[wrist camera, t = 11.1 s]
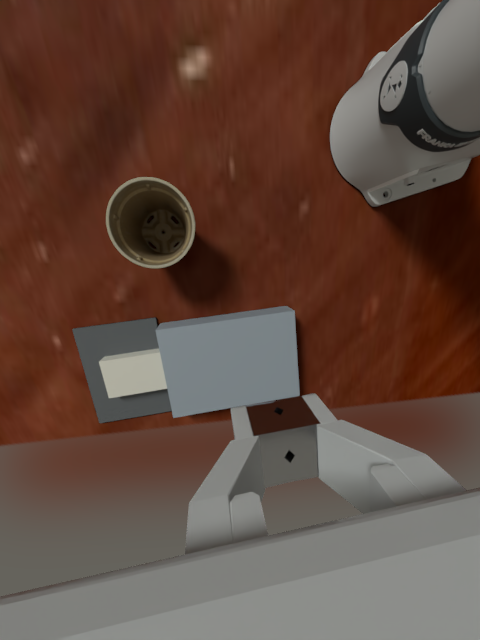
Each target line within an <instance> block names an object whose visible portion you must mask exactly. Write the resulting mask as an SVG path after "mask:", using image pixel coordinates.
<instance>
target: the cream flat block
mask: <svg viewBox="0 0 480 640" xmlns="http://www.w3.org/2000/svg"><path fill="white" fill-rule="evenodd" d="M99 365H100V368H101V372H102V375H103V379H104V383H105V386H106V390H107V393H108V397H109V398H114V397H120V396H126V395H132V394H138V393H144V392H150V391H156V390H162V389H167V385H166V380H165V375H164V370H163V365H162V360H161V355H160V350H159V348H158V349H151V350H145V351H138V352H132V353H125V354H119V355H112V356H105V357H103V358H102V359H101V360H100V361H99Z"/></svg>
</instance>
